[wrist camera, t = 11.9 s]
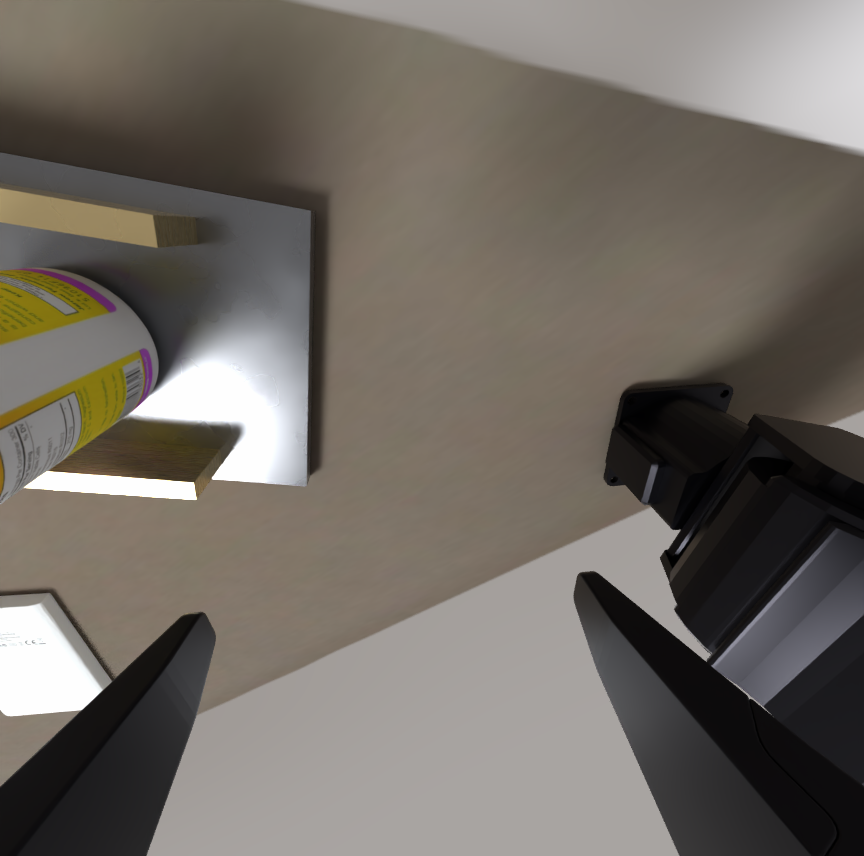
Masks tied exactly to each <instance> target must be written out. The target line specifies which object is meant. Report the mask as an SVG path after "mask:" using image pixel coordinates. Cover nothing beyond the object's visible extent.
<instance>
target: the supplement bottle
mask: <svg viewBox="0 0 864 856" xmlns="http://www.w3.org/2000/svg"><path fill="white" fill-rule="evenodd" d="M158 371H159V363H158V355H157V351H156V347H155V345H154V342H153V340H152V338H151V335H150V334H149V332H148V330H147V328H146V327H145V325H144V324H143V323H142V321H141V320H140V318H139V317H138V316H137V315H136V314H135V312H134V311H133V310H132V309H131V308H130V307H129V306H128V305H127V304H126V303H125V302H124V301H122V300H121V299H120V298H119V297H118V296H116V295H115V294H113V293H112V292H111V291H109V290H108V289H106V288H104V287H103V286H101V285H99V284H98V283H96V282H94V281H92V280H90V279H87V278H85V277H82V276H80V275H77V274H74V273H70V272H67V271H62V270H57V269H50V268H22V269H10V270H2V271H0V504H2V503H3V502H4V501H6V500H7V499H9V498H10V497H11V496H13V495H14V494H16V493H17V492H18V491H20V490H21V489H23V488H24V487H26V486H27V485H28V484H30V483H31V482H33V481H34V480H35V479H37V478H38V477H40V476H41V475H43V474H44V473H45V472H47V471H48V470H50V469H51V468H53V467H54V466H55V465H57V464H58V463H60V462H61V461H63V460H64V459H65V458H67V457H68V456H70V455H71V454H73V453H74V452H76V451H77V450H78V449H80V448H81V447H83V446H84V445H86V444H87V443H89V442H90V441H91V440H93V439H94V438H96V437H97V436H98V435H100V434H101V433H103V432H104V431H106V430H107V429H109V428H110V427H111V426H113V425H114V424H116V423H117V422H118V421H120V420H121V419H123V418H124V417H125V416H127V415H128V414H130V413H131V412H132V411H134V410H135V409H136V408H137V407H138V406H140V405H141V404H142V403H143V402H144V401H145V400H146V399H147V398H148V397H149V395H150V394H151V392H152V391H153V389H154V386H155V384H156V381H157V377H158Z"/></svg>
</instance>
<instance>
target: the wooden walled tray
mask: <svg viewBox="0 0 864 856" xmlns="http://www.w3.org/2000/svg"><path fill="white" fill-rule="evenodd" d="M314 254H315V211H310V210H305V209H300V208H294V207H289V206H284V205H278V204H273V203H268V202H262V201H257V200H252V199H246V198H241V197H236V196H230V195H225V194H220V193H214V192H209V191H204V190H198V189H193V188H188V187H182V186H177V185H172V184H166V183H161V182H156V181H150V180H145V179H140V178H134V177H129V176H124V175H118V174H113V173H108V172H102V171H97V170H92V169H86V168H81V167H76V166H70V165H65V164H60V163H54V162H49V161H44V160H38V159H33V158H28V157H22V156H17V155H12V154H6V153H1V152H0V271H2V270H10V269H22V268H50V269H57V270H62V271H67V272H70V273H74V274H77V275H80V276H82V277H85V278H87V279H90V280H92V281H94V282H96V283H98V284H99V285H101V286H103V287H104V288H106V289H108V290H109V291H111V292H112V293H113V294H115V295H116V296H118V297H119V298H120V299H121V300H122V301H124V302H125V303H126V304H127V305H128V306H129V307H130V308H131V309H132V310H133V311H134V312H135V314H136V315H137V316H138V317H139V318H140V320H141V321H142V323H143V324H144V325H145V327H146V328H147V330H148V332H149V334H150V335H151V338H152V340H153V342H154V345H155V347H156V351H157V355H158V363H159V371H158V377H157V381H156V384H155V386H154V389H153V391H152V392H151V394H150V395H149V397H148V398H147V399H146V400H145V401H144V402H143V403H142V404H141V405H140V406H138V407H137V408H136V409H135V410H134V411H132V412H131V413H130V414H128V415H127V416H125V417H124V418H123V419H121V420H120V421H118V422H117V423H116V424H114V425H113V426H111V427H110V428H109V429H107V430H106V431H104V432H103V433H101V434H100V435H98V436H97V437H96V438H94V439H93V440H91V441H90V442H89V443H87V444H86V445H84V446H83V447H81V448H80V449H78V450H77V451H76V452H74V453H73V454H71V455H70V456H68V457H67V458H65V459H64V460H63V461H61V462H60V463H58V464H57V465H55V466H54V467H53V468H51V469H50V470H48V471H47V472H45V473H44V474H43V475H41V476H40V477H38V478H37V479H35V480H34V481H33V482H31V483H30V484H28V485H27V486H26V487H24V488H37V489H51V490H65V491H79V492H93V493H107V494H121V495H135V496H149V497H164V498H178V499H192V500H196V499H197V498H198V497H199V495H200V494H201V493H202V491H203V490H204V489H205V487H206V486H207V485H208V483H209V482H210V480H211V479H220V480H233V481H245V482H258V483H270V484H283V485H296V486H307V484H308V481H309V478H310V452H311V402H312V353H313V303H314Z"/></svg>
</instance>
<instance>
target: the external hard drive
mask: <svg viewBox="0 0 864 856" xmlns="http://www.w3.org/2000/svg"><path fill="white" fill-rule="evenodd" d="M111 682H112V681H111V679H110V678H109V676H108V675H107V673H106V672H105V671H104V669H103V668H102V666H101V665H100V663H99V662H98V661H97V659H96V658H95V656H94V655H93V653H92V652H91V651H90V649H89V648H88V646H87V645H86V643H85V642H84V640H83V639H82V638H81V636H80V635H79V633H78V632H77V630H76V629H75V628H74V626H73V625H72V623H71V622H70V620H69V619H68V618H67V616H66V615H65V613H64V612H63V610H62V609H61V608H60V606H59V605H58V603H57V602H56V600H55V599H54V597H53V596H52V595H51V593H42V594H26V595H10V596H0V710H1V711H2V712H3V713H4V714H5V715H7V716H18V715H29V714H41V713H52V712H62V711H75V710H82V709H83V708H84V707H85V706H86V705H88V704H89V703H90V702H91V701H92V700H93V699H94V698H95V697H96V696H97V695H98V694H99V693H100V692H101V691H102V690H103V689H105V688H106V687H107V686H108V685H109V684H110V683H111Z"/></svg>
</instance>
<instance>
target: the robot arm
mask: <svg viewBox="0 0 864 856" xmlns="http://www.w3.org/2000/svg"><path fill="white" fill-rule="evenodd" d="M722 391H723V393H722V394H721V392H722ZM732 394H733V388H732V387H731V386H729V385H727V384H725V383H718V384H704V385H691V386H678V387H665V388H652V389H638V390H629V391H626V392H625V393H623V394H622V396H621V398H620V402H619V406H618V411H617V416H616V421H615V425H614V427H613V429H612V433H611V438H610V442H609V447H608V452H607V457H606V468H605V473H604V480H605V482H606V483H607V484H608V485H609V486H619V485H626V486H627V487H628V488H629V490H630V491H631V492H632V493H633V494H634V495H635V496H636V497H637V499H638V500H639V501H640V502H641V503H642V504H644V505H650V506H651V507H652V508H653V509H654V510H655V511H656V512H657V513H658V514H659V516H660V517H661V518H662V519H663V520H664V521H665V522H666V523H667V524H668V525H669V526H670V528H671V529H673V530H679V529H681V531H680V532H679V534H678V535H677V537H676V538H675V540H674V541H673V543H672V544H671V546H670V548H669V549H668V550H665V551H664V553H663V554H662V555H661V557H660V560H661V562H662V565H663V567H664V570H665V572H666V575H667V577H668V580H669V585H670V587H671V590H672V593H673V596H674V598H675V601H676V603H677V605H676V606H675V608H674V610H675V612H676V614H677V616H678V617H679V619H680V620H681V621H682V623H683V624H684V626H685V627H686V628H687V630H688V631H689V632H690V633H691V634H692V635H693V636H694V638H695V639H696V640H697V641H698V642H699V643H700V644H701V645H702V646H703V647H704V649H705V650H706V651H707V652H709V653H710V654H711V656H710V657H709V658H708V659H707V662H706V661H704V660H703V659H702V658H701V657H700V656H698V655H697V654H696V653H695V652H694V651H692V650H691V649H690V648H689V647H687V646H686V645H685V644H684V643H682V642H681V641H680V640H679V639H678V638H676V637H675V636H674V635H673V634H672V633H670V632H669V631H668V630H667V629H665V628H664V627H663V626H662V625H661V624H659V623H658V622H657V621H656V620H654V619H653V618H652V617H651V616H650V615H648V614H647V613H646V612H645V611H644V610H642V609H641V608H640V607H639V606H637V605H636V604H635V603H634V602H633V601H631V600H630V599H629V598H627V597H626V596H625V595H624V594H623V593H622V592H620V591H619V590H618V589H617V588H615V587H614V586H613V585H612V584H611V583H609V582H608V581H607V580H606V579H604V578H603V577H602V576H601V575H599V574H598V573H596V572H594V571H590V572H581V573H579V574H578V576H577V580H576V585H575V590H574V603H575V606H576V609H577V612H578V615H579V618H580V621H581V624H582V627H583V630H584V633H585V636H586V639H587V642H588V645H589V648H590V651H591V654H592V657H593V660H594V663H595V666H596V669H597V671H598V673H599V676H600V678H601V680H602V683H603V685H604V687H605V689H606V692H607V694H608V696H609V698H610V701H611V703H612V705H613V707H614V709H615V712H616V714H617V716H618V718H619V721H620V723H621V725H622V728H623V730H624V732H625V734H626V737H627V739H628V741H629V743H630V746H631V748H632V750H633V752H634V755H635V757H636V759H637V761H638V764H639V766H640V768H641V770H642V773H643V775H644V777H645V779H646V782H647V784H648V786H649V788H650V791H651V793H652V795H653V797H654V800H655V802H656V804H657V806H658V808H659V811H660V813H661V815H662V818H663V820H664V822H665V824H666V827H667V829H668V831H669V833H670V836H671V838H672V840H673V842H674V845H675V847H676V849H677V851H678V853H679V855H680V856H864V438H863V437H860V436H858V435H855V434H853V433H850V432H848V431H845V430H842V429H839V428H834V427H829V426H823V425H817V424H812V423H806V422H800V421H794V420H788V419H783V418H777V417H771V416H765V415H760V414H754V415H753V417H752V418H751V420H750V421H749V423H748V425H747V424H745V423H743V422H742V421H740V420H738V419H736V418H735V417H733V416H731V415H729V414H727V413H726V411H727V408H728V405H729V402H730V400H731V397H732ZM631 397H633V399H632V400H631V401H630V402H628V400H629V399H630V398H631ZM612 477H614V478H613V479H611V478H612ZM215 641H216V635H215V631H214V629H213V627H212V625H211V623H210V622H209V620H208V618H207V616H206V614H205V613H203V612H195V613H187V614H184V615H183V616H181V617H180V618H179V619H178V620H177V621H176V622H175V623H174V624H173V625H171V626H170V627H169V628H168V629H167V630H166V631H165V632H164V633H163V634H162V635H161V636H160V637H159V638H158V639H157V640H156V641H154V642H153V643H152V644H151V645H150V646H149V647H148V648H147V649H146V650H145V651H144V652H143V653H142V654H141V655H140V656H139V657H137V658H136V659H135V660H134V661H133V662H132V663H131V664H130V665H129V666H128V667H127V668H126V669H125V670H124V671H123V672H122V673H120V674H119V675H118V676H117V677H116V678H115V679H114V680H113V681H112V682H111V683H110V684H109V685H108V686H107V687H106V688H105V689H103V690H102V691H101V692H100V693H99V694H98V695H97V696H96V697H95V698H94V699H93V700H92V701H91V702H90V703H89V704H88V705H86V706H85V707H84V708H83V709H82V710H81V711H80V712H79V713H78V714H77V715H76V716H75V717H74V718H73V719H72V720H71V721H69V722H68V723H67V724H66V725H65V726H64V727H63V728H62V729H61V730H60V731H59V732H58V733H57V734H56V735H55V736H54V737H52V738H51V739H50V740H49V741H48V742H47V743H46V744H45V745H44V746H43V747H42V748H41V749H40V750H39V751H38V752H37V753H35V754H34V755H33V756H32V757H31V758H30V759H29V760H28V761H27V762H26V763H25V764H24V765H23V766H22V767H21V768H20V769H18V770H17V771H16V772H15V773H14V774H13V775H12V776H11V777H10V778H9V779H8V780H7V781H6V782H5V783H4V784H3V785H1V786H0V856H146V855H147V852H148V850H149V847H150V844H151V842H152V839H153V836H154V833H155V830H156V827H157V825H158V822H159V819H160V816H161V813H162V811H163V808H164V805H165V802H166V800H167V797H168V794H169V791H170V789H171V786H172V783H173V780H174V777H175V775H176V772H177V769H178V766H179V763H180V761H181V757H182V755H183V752H184V749H185V747H186V744H187V741H188V738H189V735H190V733H191V730H192V727H193V724H194V721H195V718H196V715H197V711H198V708H199V704H200V701H201V697H202V693H203V689H204V685H205V681H206V677H207V673H208V670H209V666H210V662H211V658H212V654H213V650H214V646H215ZM724 676H725V677H726V678H728V679H729V680H731V681H732V682H734V683H735V684H737V685H738V686H739V687H741V688H742V689H743V690H744V691H745V692H747V693H748V694H749V695H750V696H751V697H753V698H754V699H755V700H756V701H758V702H759V703H760V704H761V705H762V706H763V707H764V708H765V709H766V710H767V711H768V712H769V713H771V714H769V713H768V712H767V711H765V710H764V709H763V708H762V707H761V706H760V705H758V704H757V703H756V702H755V701H754V700H752V699H749V698H748V696H747V695H746V694H745V693H743V692H742V691H741V690H740V689H739V688H737V687H736V686H735V685H734V684H733V683H731V682H730V681H729V680H728V679H726V678H725V677H724Z"/></svg>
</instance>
